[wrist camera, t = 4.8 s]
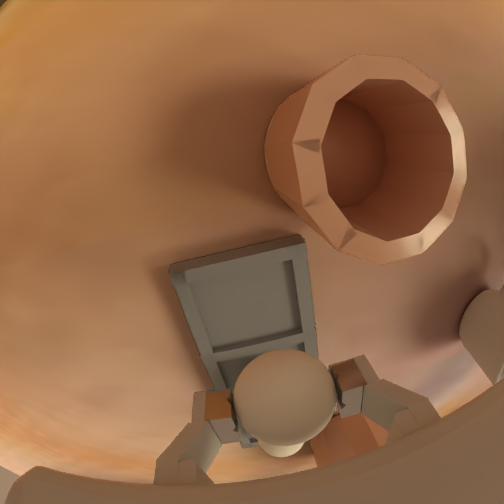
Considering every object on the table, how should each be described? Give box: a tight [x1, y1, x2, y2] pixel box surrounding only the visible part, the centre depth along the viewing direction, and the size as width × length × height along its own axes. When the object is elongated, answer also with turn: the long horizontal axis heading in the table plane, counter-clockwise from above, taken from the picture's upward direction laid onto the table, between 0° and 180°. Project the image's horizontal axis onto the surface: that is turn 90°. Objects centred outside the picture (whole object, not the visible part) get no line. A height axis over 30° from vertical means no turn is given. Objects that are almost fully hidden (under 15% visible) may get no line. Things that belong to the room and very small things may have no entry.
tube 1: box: [264, 55, 467, 265], centre depth 13 cm, size 9×9×7 cm
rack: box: [169, 235, 319, 448], centre depth 20 cm, size 19×8×2 cm, turn 11°
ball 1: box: [233, 349, 337, 446], centre depth 10 cm, size 4×4×4 cm
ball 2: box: [258, 440, 304, 457], centre depth 20 cm, size 4×4×4 cm
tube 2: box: [310, 413, 389, 467], centre depth 23 cm, size 9×9×7 cm
